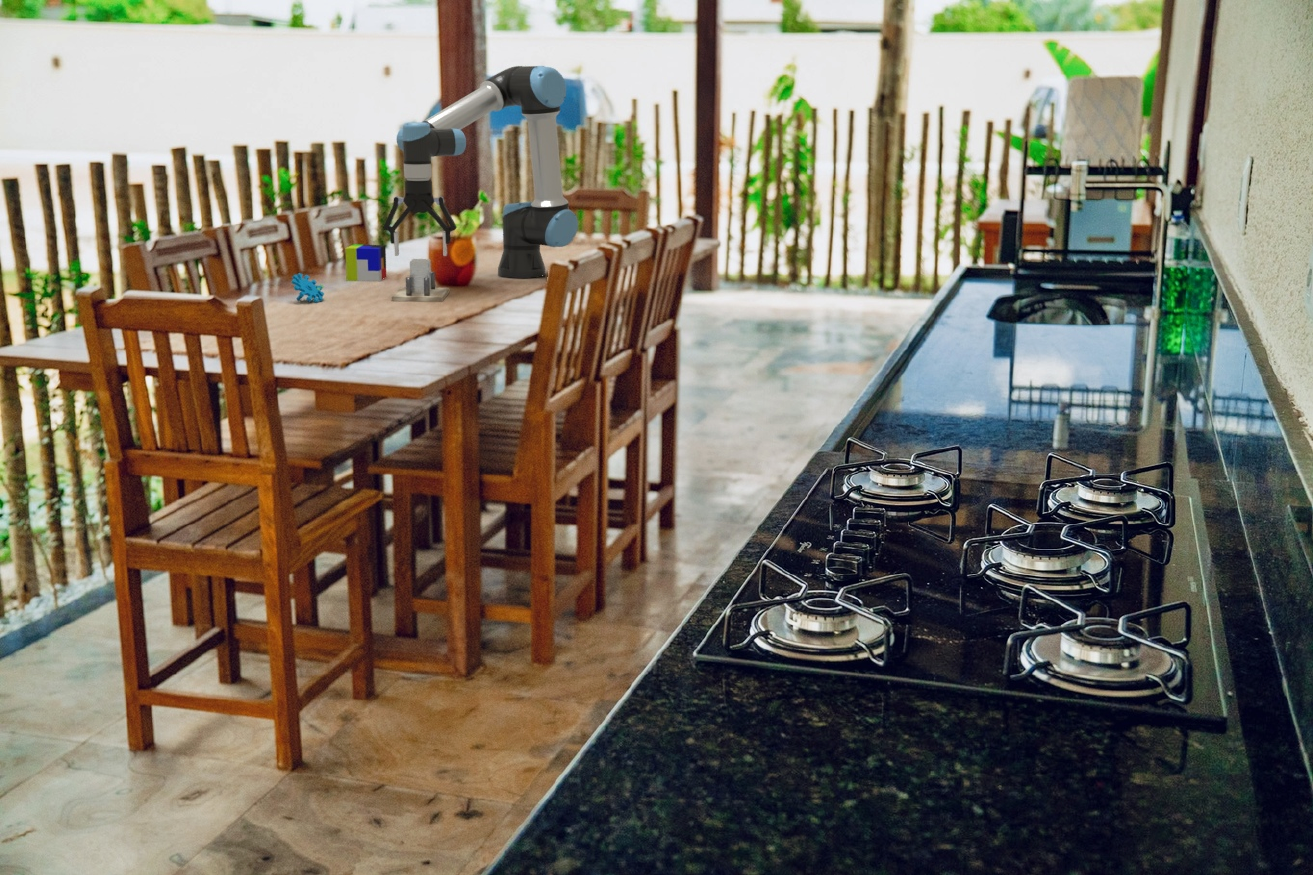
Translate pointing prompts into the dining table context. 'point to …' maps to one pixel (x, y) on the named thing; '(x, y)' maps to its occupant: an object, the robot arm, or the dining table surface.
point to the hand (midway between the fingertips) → (421, 255)
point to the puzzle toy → (365, 262)
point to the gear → (307, 288)
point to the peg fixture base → (428, 295)
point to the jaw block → (419, 274)
